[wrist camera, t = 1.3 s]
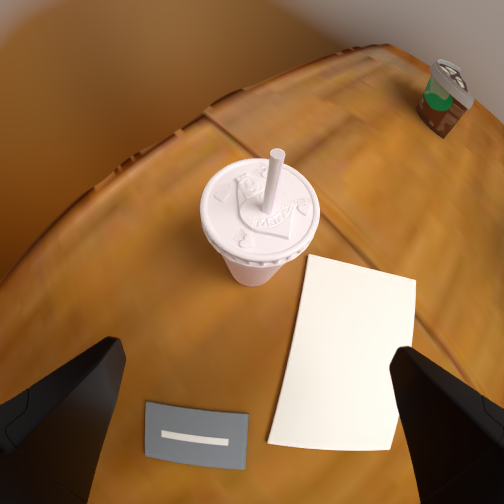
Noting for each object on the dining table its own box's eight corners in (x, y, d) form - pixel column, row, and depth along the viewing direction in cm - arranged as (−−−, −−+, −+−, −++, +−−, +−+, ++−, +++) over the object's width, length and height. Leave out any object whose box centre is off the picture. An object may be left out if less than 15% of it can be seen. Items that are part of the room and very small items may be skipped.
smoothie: (239, 318, 21) (243, 250, 8) (199, 253, 23) (161, 129, 10) (304, 276, 23) (378, 172, 10) (262, 218, 25) (284, 85, 12)
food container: (410, 89, 37) (430, 49, 28) (438, 106, 36) (460, 67, 27) (411, 124, 32) (439, 75, 23) (444, 144, 32) (475, 100, 22)
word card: (245, 467, 17) (245, 469, 16) (146, 454, 16) (144, 456, 16) (248, 413, 19) (248, 414, 18) (147, 400, 18) (145, 401, 18)
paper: (387, 448, 17) (389, 449, 17) (267, 441, 18) (267, 443, 17) (413, 281, 23) (415, 280, 23) (308, 255, 24) (309, 254, 23)
